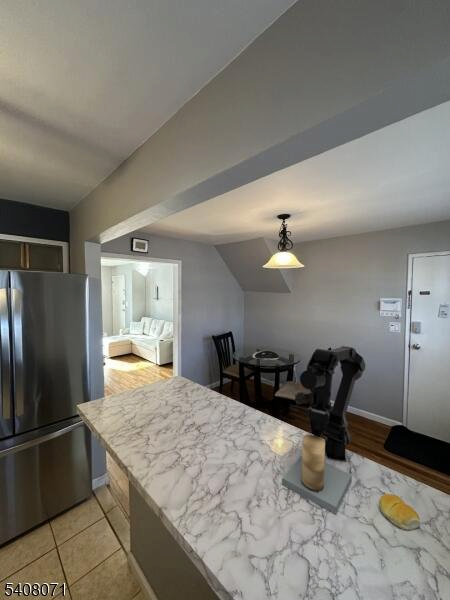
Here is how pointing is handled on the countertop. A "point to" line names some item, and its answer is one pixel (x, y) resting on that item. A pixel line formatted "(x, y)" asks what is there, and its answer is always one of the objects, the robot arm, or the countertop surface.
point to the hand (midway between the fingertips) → (317, 434)
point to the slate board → (331, 493)
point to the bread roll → (398, 512)
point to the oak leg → (313, 463)
